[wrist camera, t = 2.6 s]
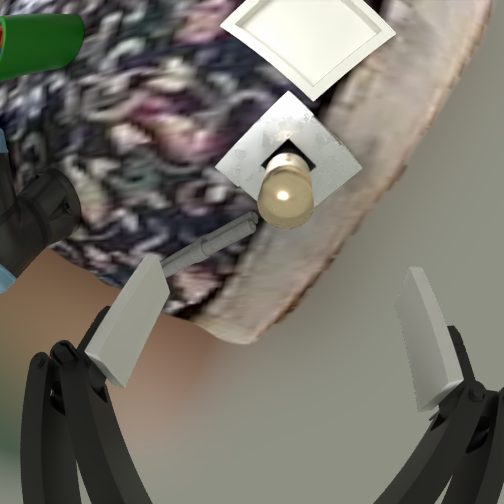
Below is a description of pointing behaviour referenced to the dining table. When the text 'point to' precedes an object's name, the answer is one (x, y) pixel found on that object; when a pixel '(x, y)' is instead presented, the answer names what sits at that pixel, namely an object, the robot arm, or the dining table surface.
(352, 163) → the block
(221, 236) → the metal rod assembly
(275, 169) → the tan knobbed cylinder
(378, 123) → the dining table surface
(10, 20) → the green cylinder
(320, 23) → the tray
